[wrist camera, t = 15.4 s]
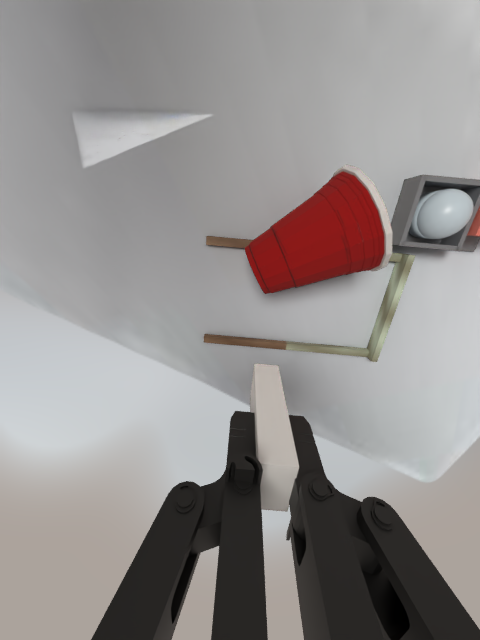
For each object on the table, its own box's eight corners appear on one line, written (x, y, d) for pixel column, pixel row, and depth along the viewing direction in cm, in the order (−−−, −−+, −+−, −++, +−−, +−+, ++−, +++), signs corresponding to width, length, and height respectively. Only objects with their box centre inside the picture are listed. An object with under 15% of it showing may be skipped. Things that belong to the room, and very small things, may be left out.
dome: (411, 190, 27) (445, 183, 22) (455, 193, 27) (498, 187, 22) (397, 236, 29) (425, 238, 24) (437, 239, 29) (473, 242, 24)
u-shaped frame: (207, 236, 30) (204, 236, 28) (405, 253, 30) (415, 255, 28) (204, 339, 36) (202, 346, 34) (370, 354, 36) (376, 361, 34)
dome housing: (404, 179, 27) (428, 172, 23) (499, 188, 27) (539, 182, 23) (385, 243, 29) (404, 246, 26) (471, 251, 29) (502, 255, 26)
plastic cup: (267, 288, 34) (351, 251, 31) (279, 332, 25) (399, 286, 22) (233, 215, 28) (331, 162, 25) (232, 239, 19) (383, 160, 16)
